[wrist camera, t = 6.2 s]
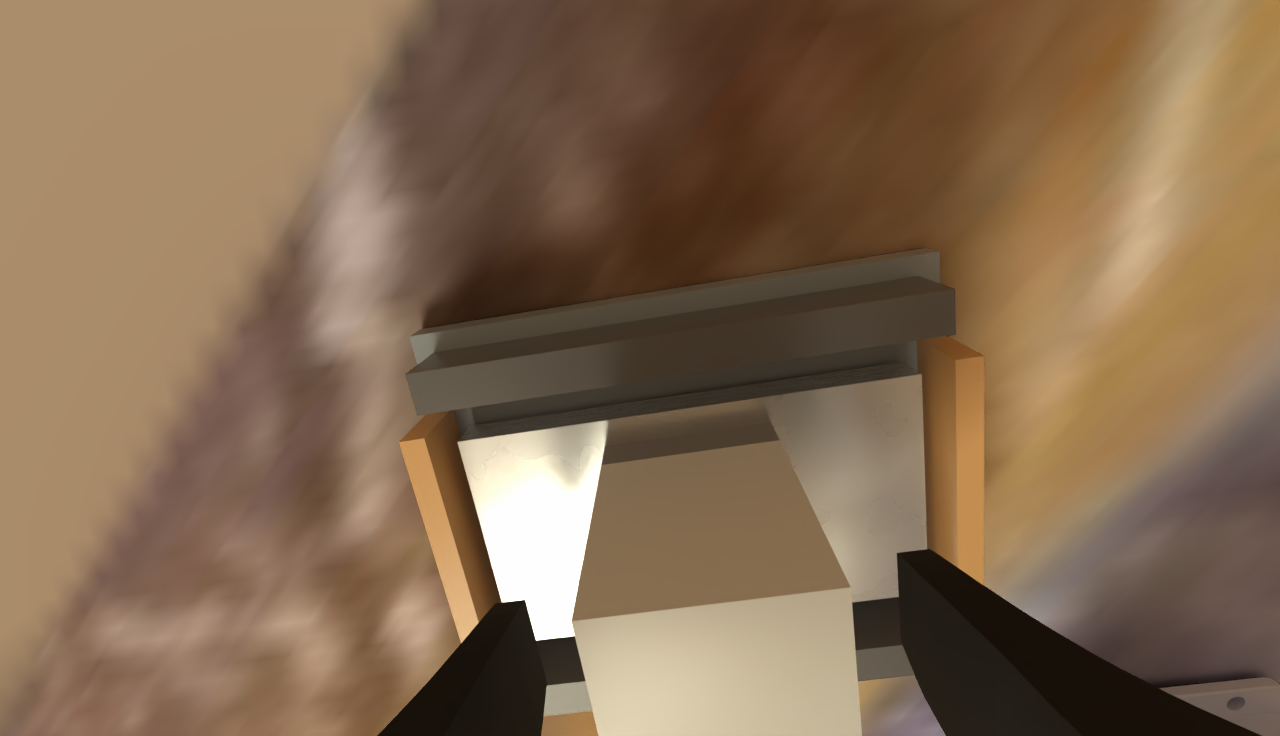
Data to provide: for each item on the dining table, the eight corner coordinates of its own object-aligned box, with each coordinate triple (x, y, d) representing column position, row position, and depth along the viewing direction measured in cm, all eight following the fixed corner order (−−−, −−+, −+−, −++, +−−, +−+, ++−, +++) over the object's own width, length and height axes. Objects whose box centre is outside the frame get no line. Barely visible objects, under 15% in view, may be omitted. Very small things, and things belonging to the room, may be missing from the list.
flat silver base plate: (904, 361, 15) (922, 374, 14) (912, 569, 16) (928, 593, 15) (469, 425, 15) (457, 442, 14) (521, 617, 17) (513, 642, 16)
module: (771, 422, 14) (850, 587, 8) (790, 599, 16) (869, 842, 10) (604, 446, 14) (571, 621, 9) (638, 617, 16) (629, 864, 10)
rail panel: (925, 248, 15) (985, 262, 12) (934, 614, 18) (983, 689, 15) (421, 329, 16) (373, 359, 13) (515, 663, 19) (492, 742, 16)
